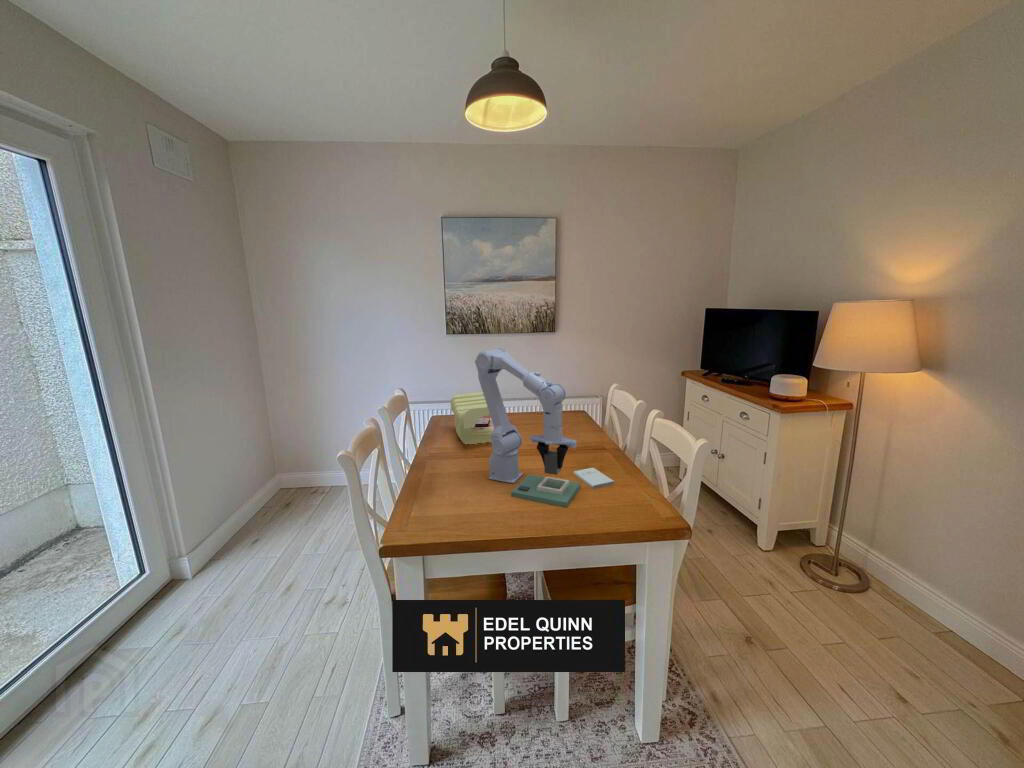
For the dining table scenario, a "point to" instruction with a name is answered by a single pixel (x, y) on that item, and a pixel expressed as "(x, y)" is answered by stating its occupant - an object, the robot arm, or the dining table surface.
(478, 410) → the ridged pale green box
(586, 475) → the external hard drive
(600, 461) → the dining table surface
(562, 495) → the board
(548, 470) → the dark grey block
